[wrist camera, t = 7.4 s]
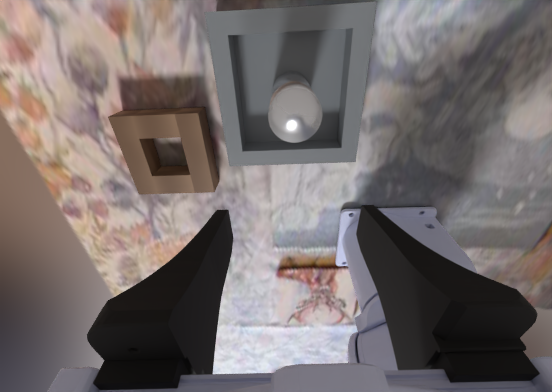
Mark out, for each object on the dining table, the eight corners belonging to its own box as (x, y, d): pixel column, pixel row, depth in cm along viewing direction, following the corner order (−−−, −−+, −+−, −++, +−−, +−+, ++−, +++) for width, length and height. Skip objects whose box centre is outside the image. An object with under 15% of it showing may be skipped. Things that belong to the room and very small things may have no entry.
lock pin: (310, 71, 18) (324, 87, 12) (308, 110, 20) (320, 142, 14) (272, 71, 18) (267, 88, 12) (272, 111, 20) (268, 142, 14)
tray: (362, 7, 17) (376, 1, 14) (347, 147, 22) (355, 162, 20) (215, 15, 17) (204, 12, 15) (235, 151, 23) (229, 166, 20)
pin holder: (204, 106, 21) (197, 113, 19) (219, 181, 24) (214, 192, 23) (122, 110, 21) (108, 116, 19) (148, 183, 25) (139, 194, 23)
